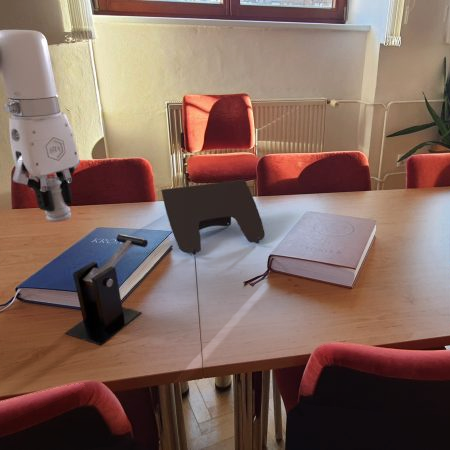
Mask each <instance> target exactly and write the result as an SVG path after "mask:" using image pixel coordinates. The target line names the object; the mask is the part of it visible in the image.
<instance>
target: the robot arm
mask: <svg viewBox="0 0 450 450" xmlns="http://www.w3.org/2000/svg"><path fill="white" fill-rule="evenodd" d="M49 49H50V48H49V45H48V41H47V38H46V36H45V35H44V34H43V33H42V32H41V31H38V30H33V29H32V30H31V29H0V75H1V77H2V81H3V85H4V89H5V94H6V97H7V104H4V105H3V110H4V112H5V113H6V114H10V115H11V117H9V118H8V119H9V121H8V128H9V129H8V131H9V141H10V148H11V154H12V159H13V163H14V166H15V169H14V173H13V176H12V181H13V182H14V183H17V184H22V185H24V186H26V187H28V188H29V189H31V190H32V191H34V194H35V198H36V203H37V206H38V208H39V210H41V211H50V212H51V211H54V209H55V208H54V203H53V199H52V194H51V191H50V190H47V181H46V177H47V176H49V175H54V177H55V176H57V177H58V178H59V180H60V181H61V184H60V189H62V191H61V194H62V197H63V200H64V202H65V203H66V204H67V205H72V204H73V203H74V201H73V196H72V195H73V194H72V189H71V185H70V184H71V183H72V182H73V179H72V177H73V175H74V173H75V170H76V169H77V168H78V166H80V164H81V160H80V158H79V151H78V148H77V144H76V140H75V135H74V133H73V130H72V127H71V124H70V122H69V119H68V117H67V115H66V113H65V112H61V107H60V101H59V98H58V91H57V86H56V81H55V75H54V70H53V65H52V61H51V56H50V55H51V54H50V50H49ZM27 175H28V177H27Z"/></svg>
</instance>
